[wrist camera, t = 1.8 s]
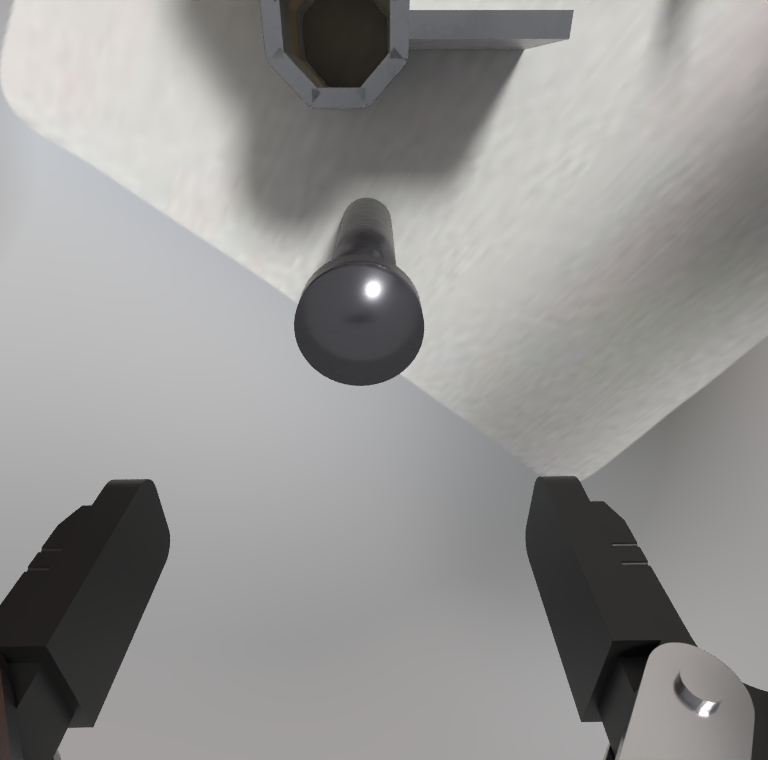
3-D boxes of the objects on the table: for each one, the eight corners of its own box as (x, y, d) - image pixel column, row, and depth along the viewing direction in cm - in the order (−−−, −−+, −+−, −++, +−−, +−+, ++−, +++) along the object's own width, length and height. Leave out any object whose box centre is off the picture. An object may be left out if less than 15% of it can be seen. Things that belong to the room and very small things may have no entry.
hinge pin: (404, 184, 32) (426, 266, 17) (403, 259, 34) (421, 385, 20) (328, 184, 32) (287, 267, 17) (332, 259, 34) (300, 386, 20)
